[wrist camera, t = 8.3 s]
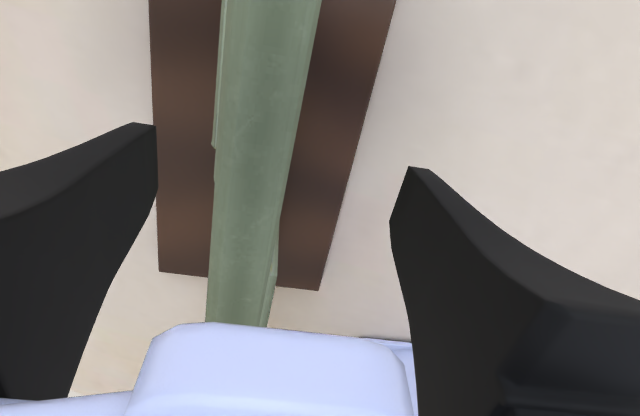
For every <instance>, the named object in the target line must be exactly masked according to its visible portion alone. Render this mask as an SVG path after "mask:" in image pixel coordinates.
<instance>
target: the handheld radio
mask: <svg viewBox="0 0 640 416" xmlns="http://www.w3.org/2000/svg"><path fill="white" fill-rule="evenodd" d="M321 2H322V0H222V4H221V19H220V33H219V48H218V62H217V77H216V92H215V106H214V121H213V135H212V142H211V145H212V146H213V147H214V149H216V153H215V166H214V182H215V188H214V202H213V216H212V231H211V245H210V259H209V274H208V288H207V302H206V317H205V322H220V323H229V324H239V325H248V326H257V327H267V323H268V318H269V313H270V308H271V303H272V299H273V294H274V289H275V284H276V280H277V268H278V242H279V220H280V215H281V210H282V204H283V199H284V194H285V189H286V184H287V178H288V173H289V168H290V163H291V158H292V152H293V147H294V142H295V137H296V132H297V126H298V121H299V116H300V111H301V106H302V101H303V95H304V90H305V85H306V80H307V75H308V69H309V64H310V59H311V54H312V49H313V43H314V38H315V33H316V28H317V23H318V17H319V12H320V7H321Z"/></svg>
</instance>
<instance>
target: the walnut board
mask: <svg viewBox="0 0 640 416" xmlns="http://www.w3.org/2000/svg"><path fill="white" fill-rule="evenodd" d="M221 4H222V0H149V26H150V52H151V78H152V105H153V125H154V126H156V132H157V160H158V187H159V188H158V191H157V194H156V210H157V236H158V262H159V272H166V273H175V274H183V275H191V276H199V277H207V278H208V274H209V259H210V245H211V231H212V216H213V202H214V188H215V182H214V166H215V153H216V149H214V147H213V146H212V145H211V142H212V135H213V121H214V106H215V92H216V77H217V62H218V48H219V33H220V19H221ZM395 4H396V0H322V2H321V7H320V12H319V17H318V23H317V28H316V33H315V38H314V43H313V49H312V54H311V59H310V64H309V69H308V75H307V80H306V85H305V90H304V95H303V101H302V106H301V111H300V116H299V121H298V126H297V132H296V137H295V142H294V147H293V152H292V158H291V163H290V168H289V173H288V178H287V184H286V189H285V194H284V199H283V204H282V210H281V215H280V220H279V242H278V268H277V280H276V284H275V286H281V287H290V288H298V289H306V290H314V291H318V290H319V286H320V283H321V279H322V275H323V272H324V268H325V264H326V260H327V257H328V253H329V249H330V246H331V242H332V238H333V234H334V231H335V227H336V223H337V219H338V216H339V212H340V208H341V205H342V201H343V197H344V193H345V190H346V186H347V182H348V179H349V175H350V171H351V167H352V164H353V160H354V156H355V152H356V149H357V145H358V141H359V138H360V134H361V130H362V126H363V123H364V119H365V115H366V112H367V108H368V104H369V100H370V97H371V93H372V89H373V85H374V82H375V78H376V74H377V71H378V67H379V63H380V59H381V56H382V52H383V48H384V45H385V41H386V37H387V33H388V30H389V26H390V22H391V18H392V15H393V11H394V7H395Z"/></svg>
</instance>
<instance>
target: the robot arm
mask: <svg viewBox="0 0 640 416" xmlns="http://www.w3.org/2000/svg"><path fill="white" fill-rule="evenodd" d="M158 188H159V187H158V160H157V132H156V126H154V125H148V124H141V123H135V122H132V123H129V124H126V125H124V126H121V127H119V128H116V129H114V130H112V131H110V132H107V133H105V134H103V135H101V136H98V137H96V138H94V139H92V140H89V141H87V142H85V143H82V144H80V145H78V146H75V147H73V148H70V149H67V150H65V151H62V152H60V153H57V154H55V155H52V156H49V157H47V158H44V159H41V160H38V161H35V162H32V163H29V164H26V165H22V166H19V167H15V168H12V169H8V170H5V171H1V172H0V416H640V300H637V299H635V298H632V297H629V296H627V295H624V294H622V293H619V292H617V291H614V290H611V289H609V288H607V287H604V286H602V285H600V284H598V283H596V282H593V281H591V280H589V279H587V278H585V277H582V276H580V275H578V274H576V273H574V272H572V271H570V270H568V269H566V268H564V267H562V266H560V265H559V264H557V263H555V262H553V261H551V260H549V259H548V258H546V257H544V256H542V255H540V254H539V253H537V252H535V251H534V250H532V249H530V248H529V247H527V246H526V245H524V244H523V243H521V242H519V241H518V240H516V239H515V238H513V237H512V236H510V235H509V234H507V233H506V232H505V231H503V230H502V229H500V228H499V227H498V226H496V225H495V224H494V223H493V222H491V221H490V220H489V219H487V218H486V217H485V216H484V215H482V214H481V213H480V212H479V211H477V210H476V209H475V208H474V207H473V206H472V205H470V204H469V203H468V202H467V201H466V200H465V199H463V198H462V197H461V196H460V195H459V194H458V193H457V192H455V191H454V190H453V189H452V188H451V187H450V186H449V185H448V184H446V183H445V182H444V181H443V180H442V179H441V178H439V177H438V176H437V175H436V174H435V173H433V172H432V171H430V170H429V169H424V168H417V167H411V166H408V169H407V172H406V175H405V178H404V180H403V183H402V186H401V189H400V192H399V195H398V197H397V200H396V203H395V206H394V209H393V212H392V214H391V217H390V220H389V225H390V238H391V248H392V253H393V257H394V261H395V266H396V270H397V274H398V278H399V282H400V286H401V290H402V294H403V298H404V302H405V306H406V310H407V315H408V320H409V326H410V334H411V342H412V343H408V342H399V341H390V340H381V339H372V338H357V337H349V336H340V335H331V334H322V333H312V332H303V331H294V330H285V329H276V328H266V327H257V326H248V325H239V324H229V323H220V322H202V323H186V324H180V325H177V326H175V327H173V328H171V329H169V330H167V331H165V332H163V333H162V334H160V335H158V336H156V337H154V338H153V339H152V341H151V344H150V346H149V349H148V351H147V354H146V356H145V359H144V362H143V365H142V367H141V370H140V373H139V376H138V378H137V381H136V384H135V386H134V389H133V390H132V391H123V392H114V393H105V394H96V395H87V396H78V397H69V398H67V397H68V393H69V391H70V388H71V385H72V382H73V379H74V377H75V374H76V371H77V368H78V365H79V363H80V360H81V357H82V354H83V351H84V349H85V346H86V344H87V341H88V338H89V336H90V333H91V331H92V328H93V325H94V323H95V320H96V318H97V315H98V313H99V310H100V308H101V306H102V303H103V301H104V298H105V296H106V293H107V291H108V289H109V287H110V285H111V283H112V281H113V279H114V277H115V275H116V273H117V271H118V269H119V268H120V266H121V264H122V262H123V261H124V259H125V257H126V255H127V253H128V252H129V250H130V248H131V246H132V245H133V243H134V241H135V239H136V237H137V236H138V234H139V232H140V230H141V228H142V227H143V225H144V223H145V221H146V219H147V217H148V215H149V213H150V210H151V208H152V205H153V202H154V199H155V197H156V194H157V191H158Z"/></svg>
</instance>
